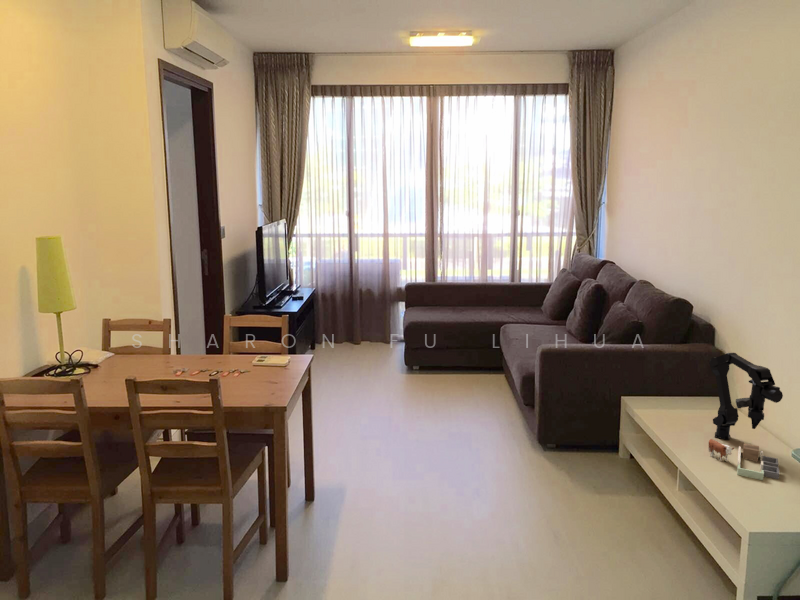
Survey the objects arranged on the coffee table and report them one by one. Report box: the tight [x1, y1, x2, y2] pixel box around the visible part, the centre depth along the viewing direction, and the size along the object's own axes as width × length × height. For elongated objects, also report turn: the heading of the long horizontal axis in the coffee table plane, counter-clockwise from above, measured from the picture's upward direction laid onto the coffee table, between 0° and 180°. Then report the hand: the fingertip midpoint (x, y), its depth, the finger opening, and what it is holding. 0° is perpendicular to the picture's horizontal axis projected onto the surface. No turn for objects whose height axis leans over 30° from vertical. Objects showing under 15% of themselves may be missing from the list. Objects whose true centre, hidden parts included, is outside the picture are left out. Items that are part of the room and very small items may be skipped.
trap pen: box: [736, 445, 780, 481], centre depth 277 cm, size 27×15×3 cm, turn 151°
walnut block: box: [741, 443, 760, 462], centre depth 286 cm, size 6×6×5 cm
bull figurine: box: [708, 438, 735, 463], centre depth 283 cm, size 4×13×8 cm, turn 15°
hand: (753, 427), depth 290 cm, fingers open, 4 cm apart
